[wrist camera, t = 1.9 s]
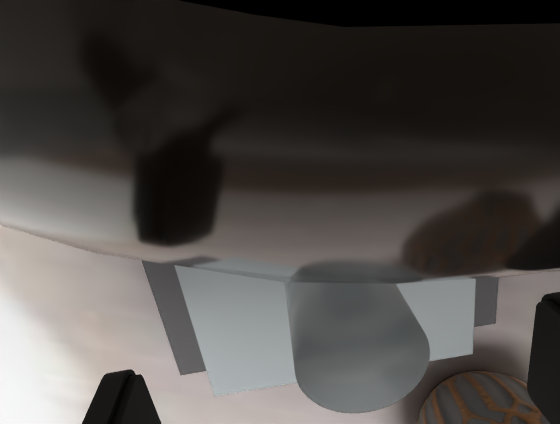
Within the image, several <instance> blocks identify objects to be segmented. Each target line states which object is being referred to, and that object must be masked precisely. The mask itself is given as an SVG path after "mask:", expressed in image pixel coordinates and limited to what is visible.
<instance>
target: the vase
mask: <svg viewBox="0 0 560 424" xmlns="http://www.w3.org/2000/svg"><path fill="white" fill-rule="evenodd" d="M417 424H550V423H549V422H548V420H547V419H546V418H545V417H544V415H543V414H542V413H541V412H540V410H539V409H538V408H537V407H536V405H535V404H534V403H533V401H532V400H531V398H530V396H529V394H528V390H527V383H526V382H524V381H522V380H520V379H518V378H515V377H512V376H508V375H505V374H501V373H496V372H486V371H471V372H464V373H460V374H457V375H454V376H452V377H450V378H448V379H446V380H444V381H443V382H442V383H440V384H439V385H438V386H437V387H436V388H435V389H434V390H433V391H432V392H431V394H430V395H429V396H428V398H427V399H426V401H425V403H424V404H423V406H422V408H421V411H420V414H419V417H418V420H417Z"/></svg>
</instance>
